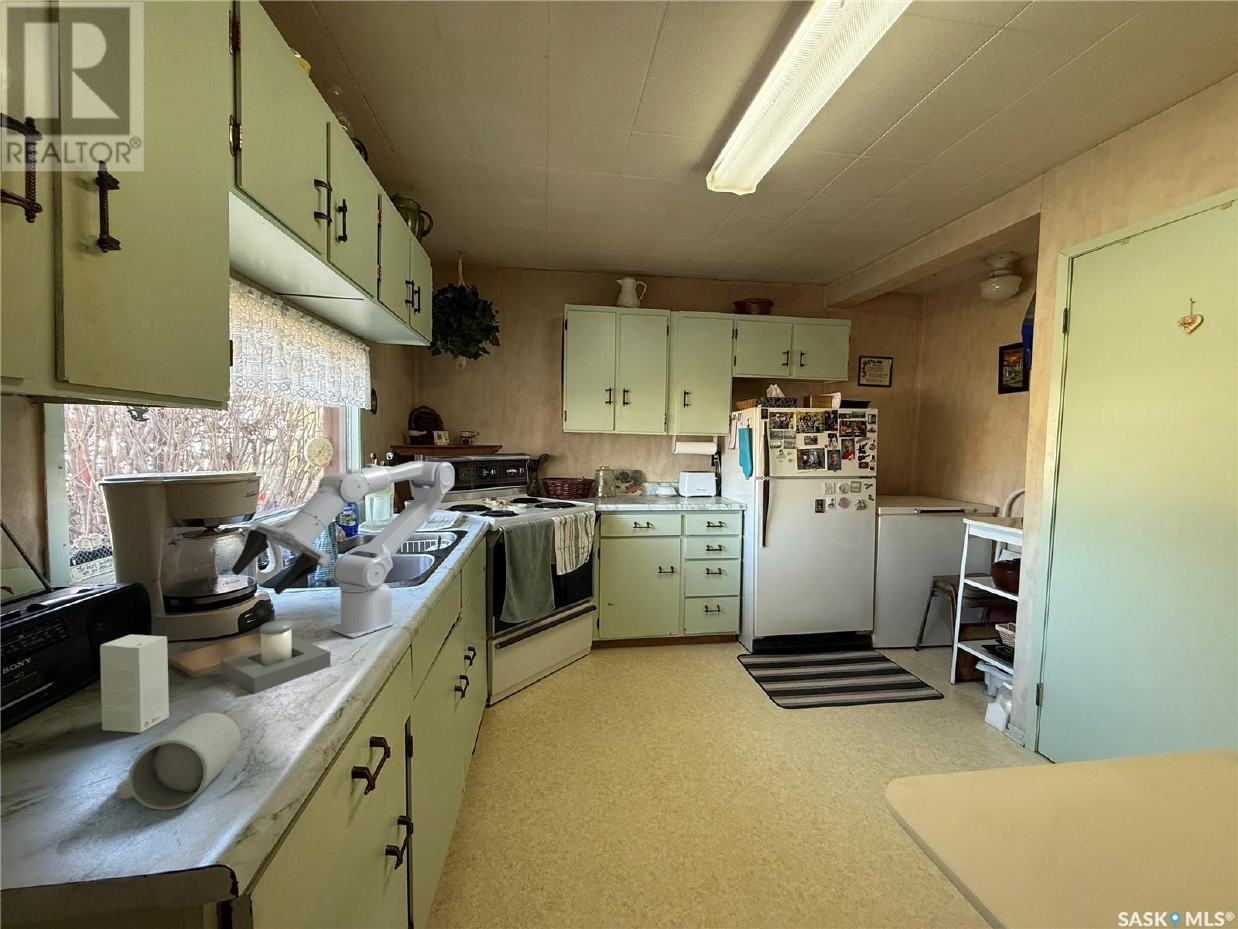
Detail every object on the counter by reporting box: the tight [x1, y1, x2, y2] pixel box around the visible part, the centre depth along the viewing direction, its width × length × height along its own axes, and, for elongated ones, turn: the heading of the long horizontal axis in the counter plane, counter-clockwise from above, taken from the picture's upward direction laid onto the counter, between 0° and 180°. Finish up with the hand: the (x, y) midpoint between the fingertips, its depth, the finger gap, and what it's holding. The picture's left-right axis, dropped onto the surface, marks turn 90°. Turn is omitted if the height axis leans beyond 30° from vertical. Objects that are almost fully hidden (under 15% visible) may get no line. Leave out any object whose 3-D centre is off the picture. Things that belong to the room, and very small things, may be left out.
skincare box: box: [99, 633, 170, 734], centre depth 71 cm, size 6×4×12 cm
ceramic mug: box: [116, 711, 242, 811], centre depth 59 cm, size 11×8×8 cm
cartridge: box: [259, 619, 293, 667], centre depth 88 cm, size 5×5×8 cm
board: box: [169, 632, 261, 678], centre depth 94 cm, size 14×10×1 cm
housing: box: [219, 636, 331, 694], centre depth 89 cm, size 12×12×2 cm
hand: (255, 582), depth 88 cm, fingers open, 7 cm apart
